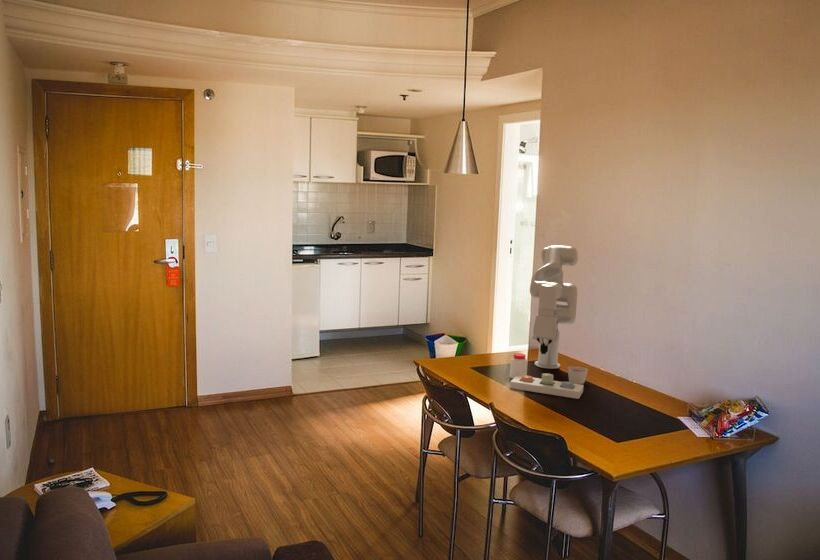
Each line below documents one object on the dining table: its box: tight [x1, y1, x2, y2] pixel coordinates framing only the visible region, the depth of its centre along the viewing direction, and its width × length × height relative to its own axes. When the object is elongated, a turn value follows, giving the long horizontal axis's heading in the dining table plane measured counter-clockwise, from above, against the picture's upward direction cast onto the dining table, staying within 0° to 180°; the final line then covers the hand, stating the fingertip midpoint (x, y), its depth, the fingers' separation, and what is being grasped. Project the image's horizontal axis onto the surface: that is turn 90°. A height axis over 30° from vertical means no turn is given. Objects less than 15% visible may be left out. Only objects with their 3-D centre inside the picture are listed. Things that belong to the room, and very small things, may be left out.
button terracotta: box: [521, 375, 533, 383], centre depth 304 cm, size 5×5×4 cm
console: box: [509, 375, 585, 400], centre depth 301 cm, size 12×30×3 cm, turn 68°
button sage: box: [541, 373, 554, 385], centre depth 300 cm, size 5×5×4 cm
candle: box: [567, 365, 589, 385], centre depth 315 cm, size 9×9×6 cm
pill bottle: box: [509, 352, 529, 380], centre depth 318 cm, size 8×8×11 cm
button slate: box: [561, 381, 574, 389], centre depth 297 cm, size 5×5×4 cm
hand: (543, 353), depth 300 cm, fingers closed
